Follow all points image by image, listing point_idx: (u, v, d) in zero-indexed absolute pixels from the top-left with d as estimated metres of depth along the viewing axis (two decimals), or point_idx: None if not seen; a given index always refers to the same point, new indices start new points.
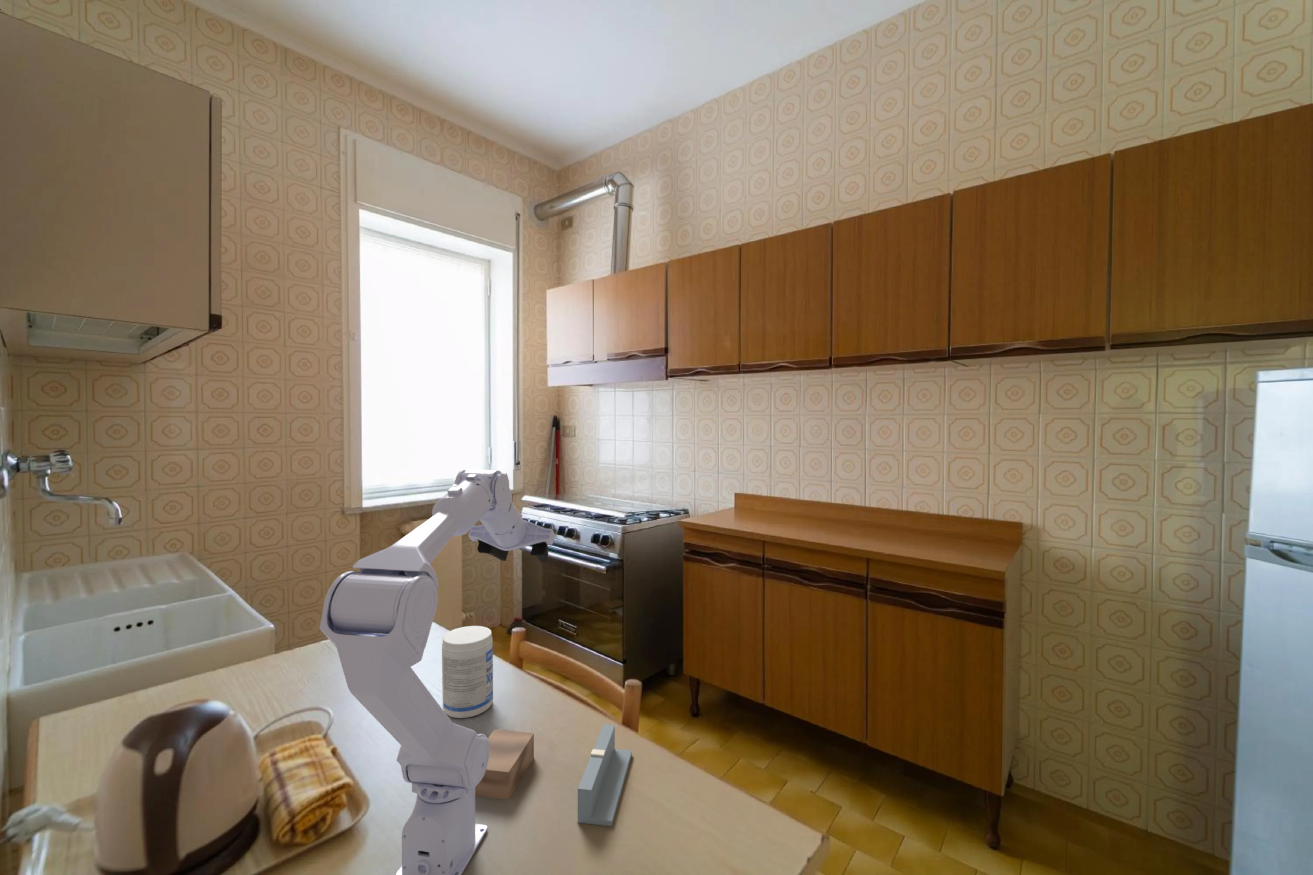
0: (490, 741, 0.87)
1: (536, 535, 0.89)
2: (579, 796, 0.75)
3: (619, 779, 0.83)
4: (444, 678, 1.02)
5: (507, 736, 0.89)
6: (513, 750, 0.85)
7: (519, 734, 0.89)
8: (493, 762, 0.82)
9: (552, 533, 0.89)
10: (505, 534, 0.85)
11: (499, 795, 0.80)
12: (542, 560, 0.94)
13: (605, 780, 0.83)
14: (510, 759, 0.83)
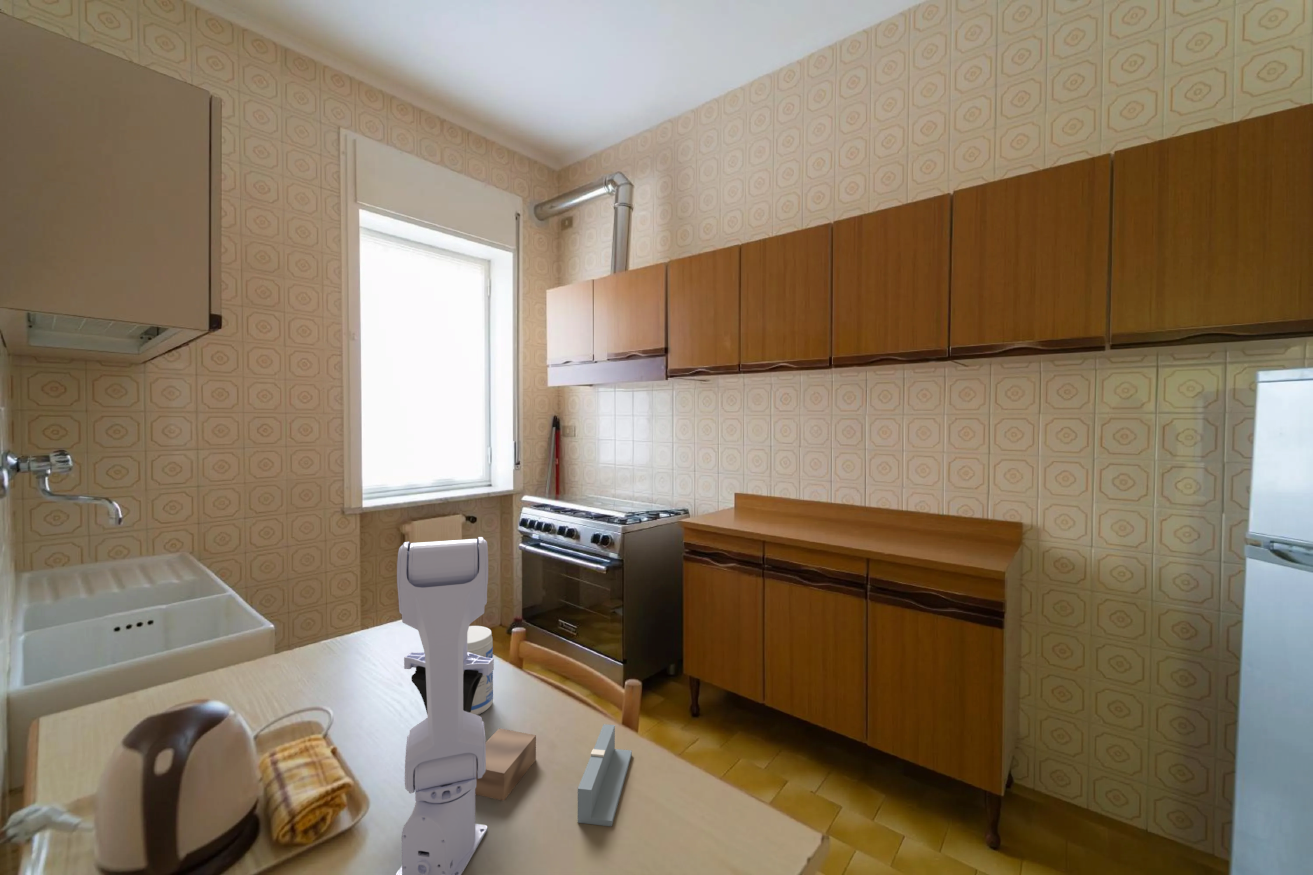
0: (492, 740, 0.88)
1: (475, 661, 0.85)
2: (579, 796, 0.75)
3: (619, 779, 0.83)
4: None
5: (509, 737, 0.88)
6: (512, 751, 0.85)
7: (521, 735, 0.89)
8: (491, 762, 0.82)
9: (492, 663, 0.85)
10: None
11: (495, 795, 0.80)
12: (463, 708, 0.84)
13: (605, 780, 0.83)
14: (508, 760, 0.82)
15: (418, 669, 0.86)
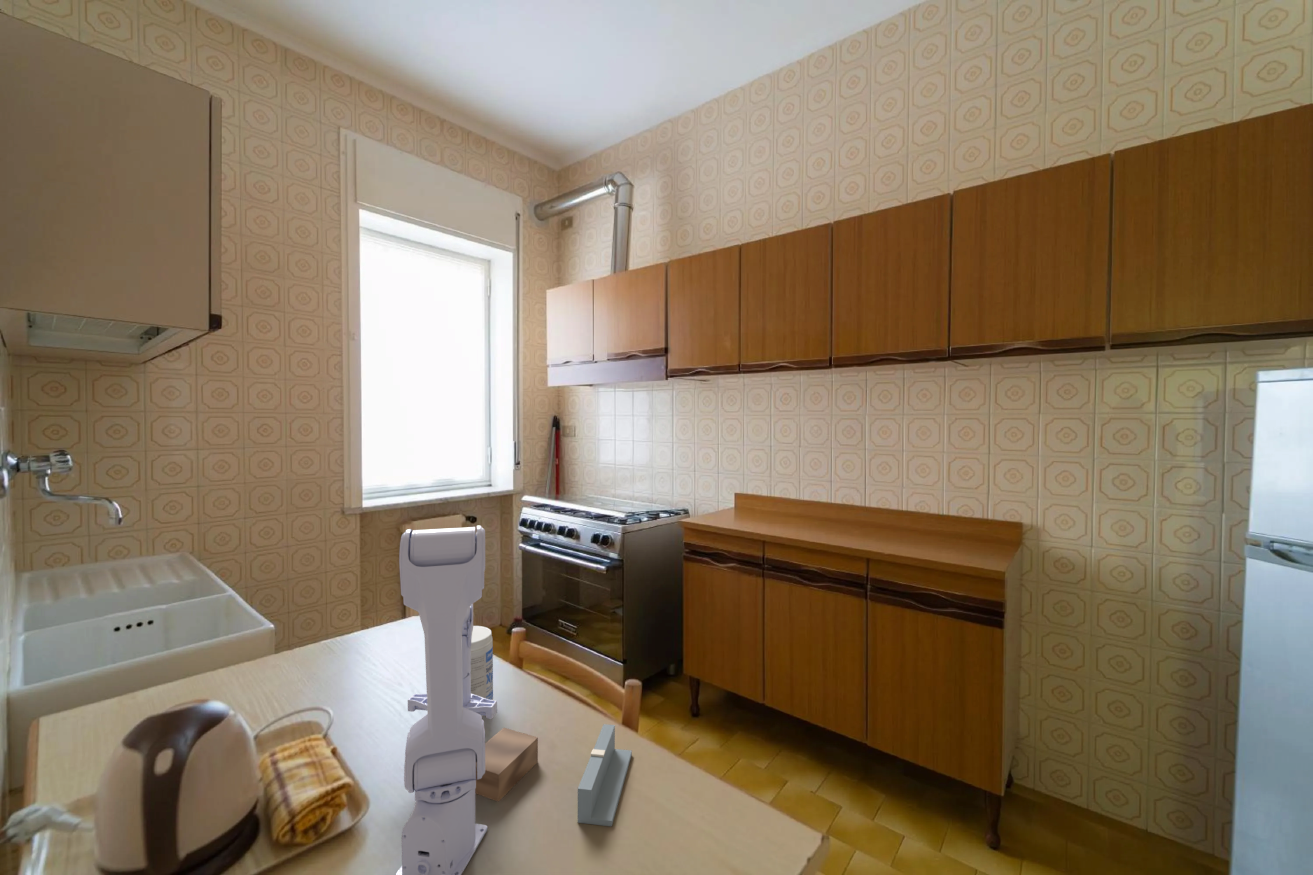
0: (494, 739, 0.88)
1: (478, 704, 0.85)
2: (579, 796, 0.75)
3: (619, 779, 0.83)
4: None
5: (512, 737, 0.88)
6: (511, 752, 0.84)
7: (524, 736, 0.89)
8: (488, 762, 0.82)
9: (495, 705, 0.86)
10: None
11: (490, 796, 0.80)
12: None
13: (605, 780, 0.83)
14: (505, 761, 0.82)
15: None
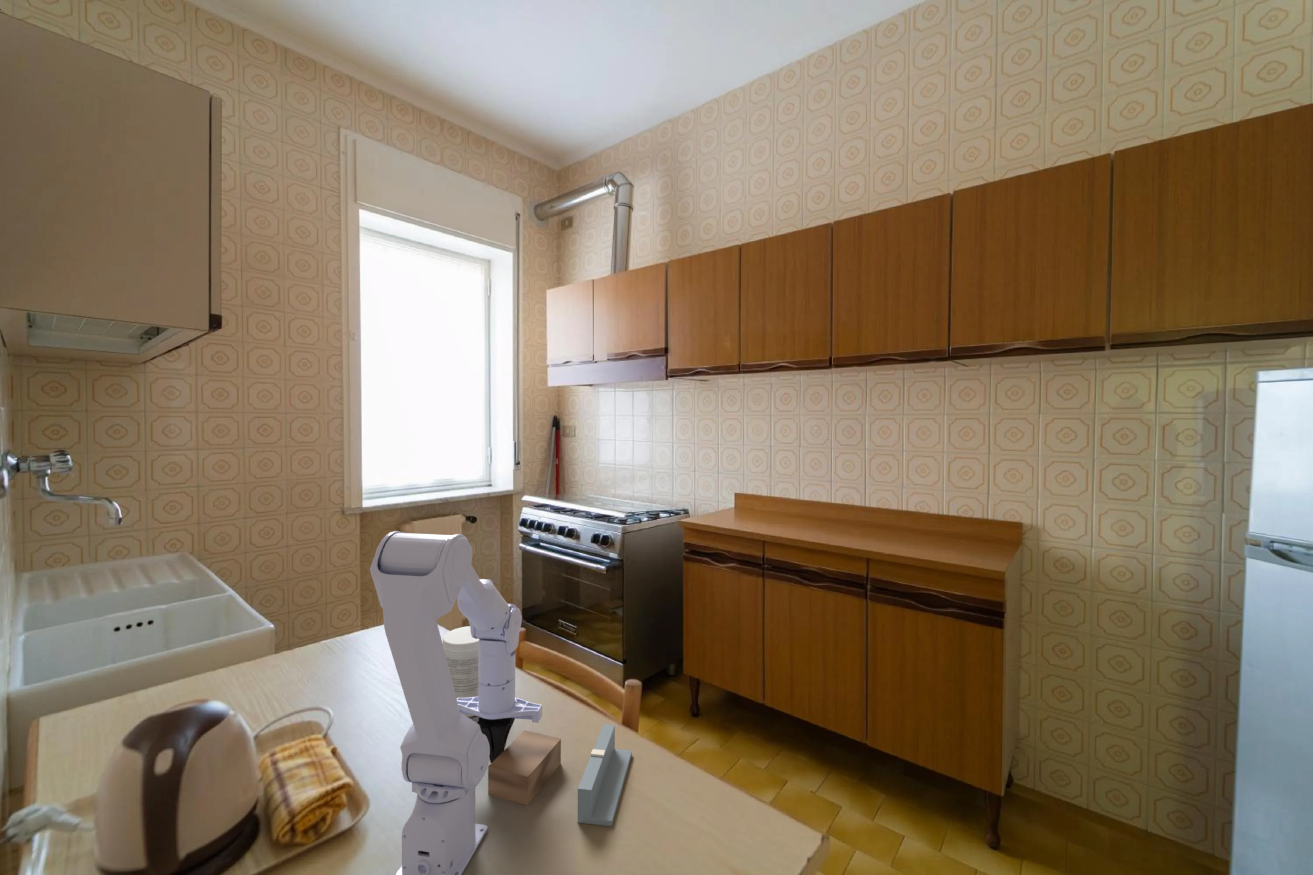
0: (517, 742, 0.87)
1: (524, 708, 0.84)
2: (579, 796, 0.75)
3: (619, 779, 0.83)
4: None
5: (534, 739, 0.88)
6: (537, 754, 0.84)
7: (546, 738, 0.88)
8: (515, 765, 0.81)
9: (541, 709, 0.85)
10: (497, 687, 0.82)
11: (519, 799, 0.79)
12: (496, 754, 0.84)
13: (605, 780, 0.83)
14: (532, 763, 0.82)
15: (481, 717, 0.85)
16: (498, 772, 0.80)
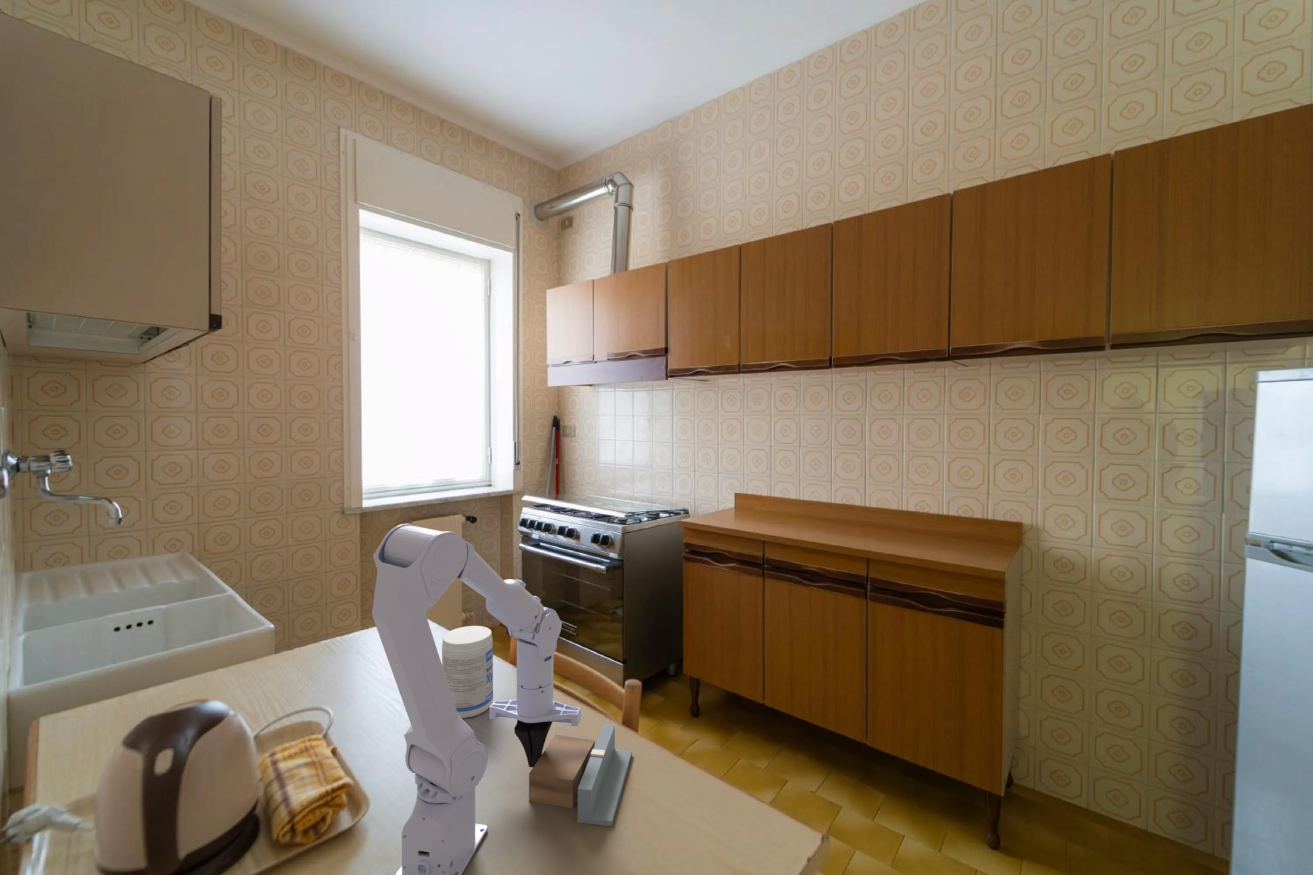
0: (551, 747, 0.86)
1: (563, 711, 0.83)
2: (579, 796, 0.75)
3: (619, 779, 0.83)
4: None
5: (568, 743, 0.87)
6: (575, 757, 0.83)
7: (580, 741, 0.88)
8: (556, 769, 0.80)
9: (579, 712, 0.84)
10: (537, 690, 0.81)
11: (563, 804, 0.79)
12: (535, 757, 0.83)
13: (605, 780, 0.83)
14: (573, 767, 0.81)
15: (519, 720, 0.84)
16: (540, 778, 0.79)
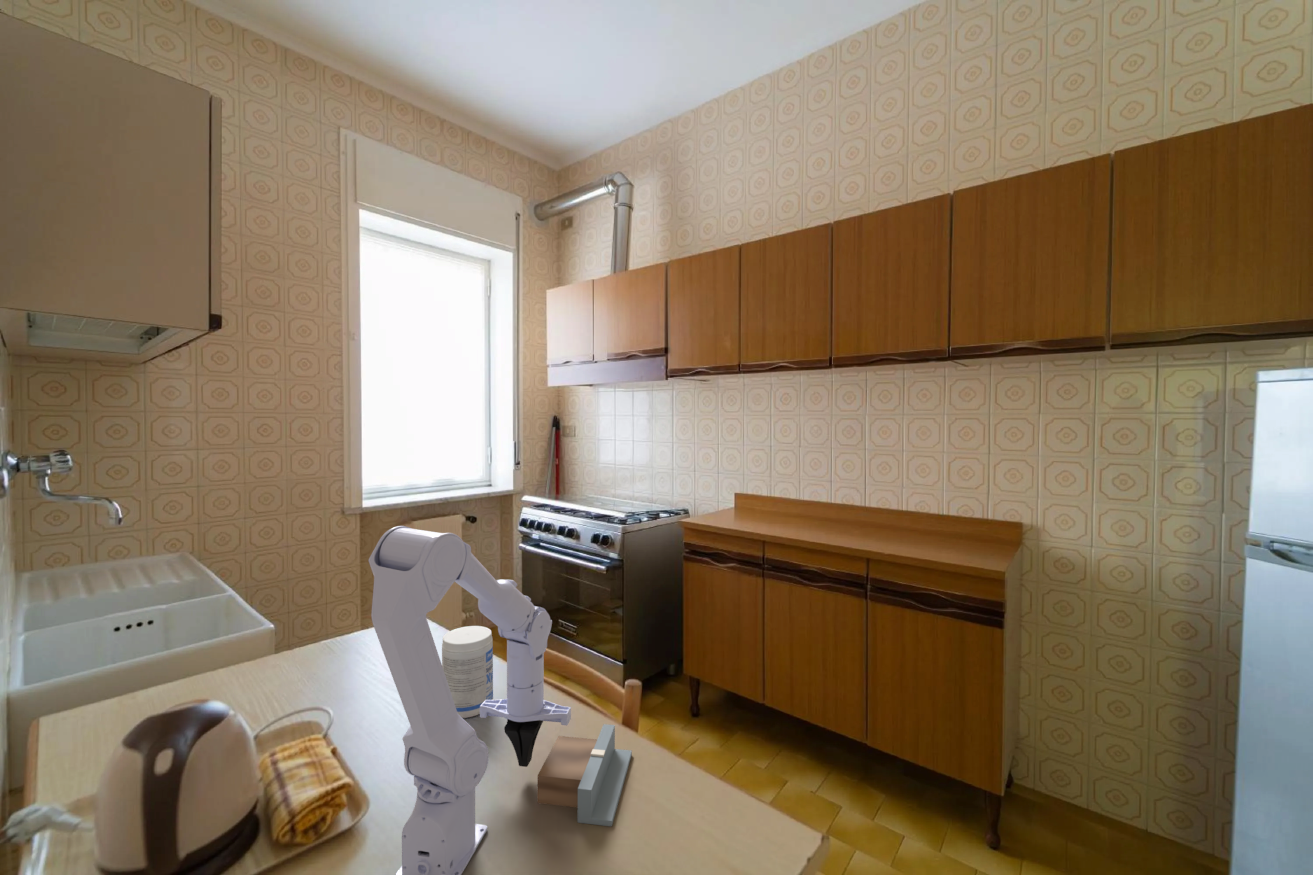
0: (556, 748, 0.86)
1: (553, 710, 0.83)
2: (579, 796, 0.75)
3: (619, 779, 0.83)
4: None
5: (573, 743, 0.87)
6: (582, 757, 0.83)
7: (584, 740, 0.88)
8: (564, 770, 0.80)
9: (569, 712, 0.84)
10: (526, 690, 0.82)
11: (573, 804, 0.79)
12: (525, 757, 0.83)
13: (605, 780, 0.83)
14: (581, 766, 0.81)
15: (510, 719, 0.84)
16: (549, 780, 0.79)
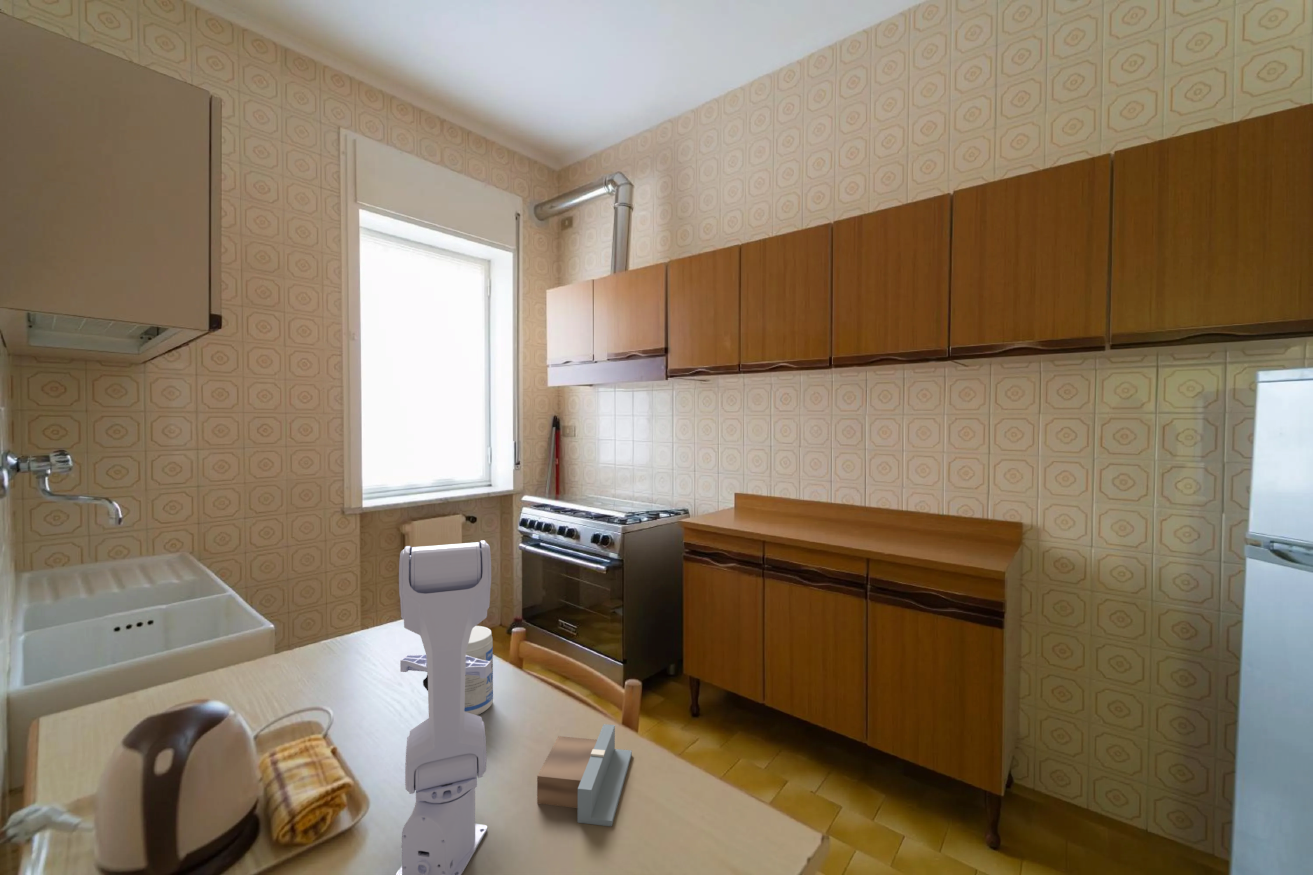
0: (556, 748, 0.86)
1: (472, 664, 0.84)
2: (579, 796, 0.75)
3: (619, 779, 0.83)
4: None
5: (573, 743, 0.87)
6: (582, 757, 0.83)
7: (584, 741, 0.88)
8: (564, 770, 0.80)
9: (489, 666, 0.84)
10: None
11: (572, 804, 0.78)
12: None
13: (605, 780, 0.83)
14: (581, 767, 0.81)
15: None
16: (549, 780, 0.79)
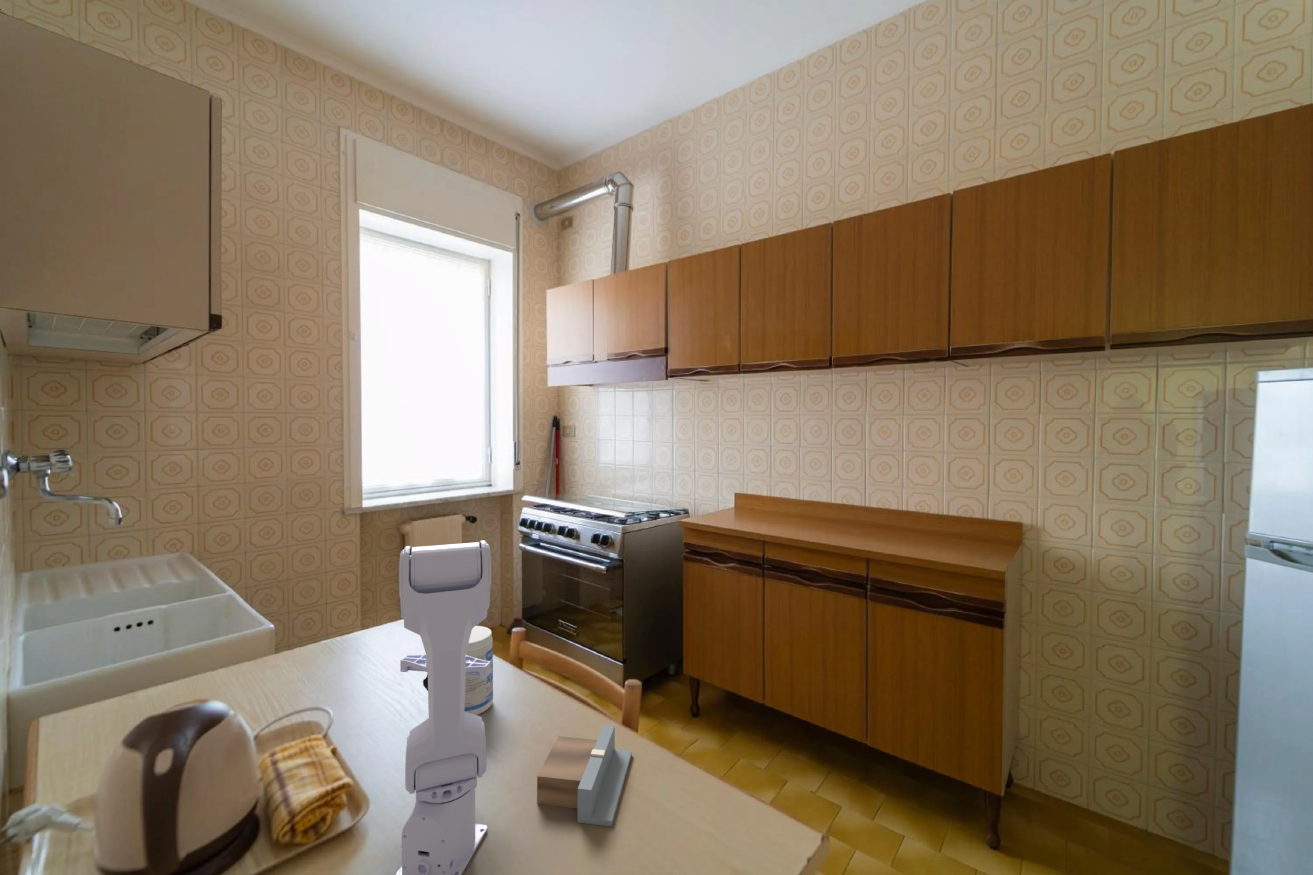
0: (556, 749, 0.85)
1: (472, 664, 0.84)
2: (579, 796, 0.75)
3: (619, 779, 0.83)
4: None
5: (573, 744, 0.87)
6: (582, 758, 0.83)
7: (584, 741, 0.88)
8: (564, 771, 0.80)
9: (489, 666, 0.84)
10: None
11: (572, 804, 0.78)
12: None
13: (605, 780, 0.83)
14: (581, 767, 0.81)
15: None
16: (549, 781, 0.79)
